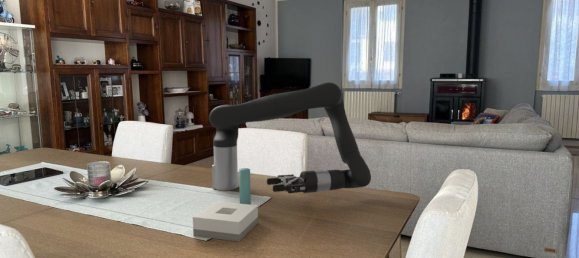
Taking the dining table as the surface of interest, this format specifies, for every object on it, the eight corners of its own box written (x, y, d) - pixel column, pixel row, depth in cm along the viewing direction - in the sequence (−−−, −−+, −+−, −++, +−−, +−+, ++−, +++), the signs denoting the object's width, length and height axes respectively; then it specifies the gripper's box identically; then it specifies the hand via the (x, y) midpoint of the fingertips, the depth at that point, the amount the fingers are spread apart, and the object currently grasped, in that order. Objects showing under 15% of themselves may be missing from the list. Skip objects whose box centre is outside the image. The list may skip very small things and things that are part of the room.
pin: (238, 211, 128) (237, 170, 126) (242, 208, 131) (241, 167, 129) (248, 212, 127) (247, 171, 125) (252, 209, 130) (251, 168, 128)
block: (193, 235, 109) (192, 216, 108) (216, 218, 122) (216, 201, 121) (239, 241, 105) (238, 222, 104) (258, 222, 118) (257, 205, 117)
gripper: (308, 166, 141) (265, 169, 137) (322, 175, 128) (275, 179, 123) (308, 186, 142) (265, 189, 138) (322, 197, 129) (275, 202, 124)
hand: (269, 185), depth 130 cm, fingers open, 8 cm apart
